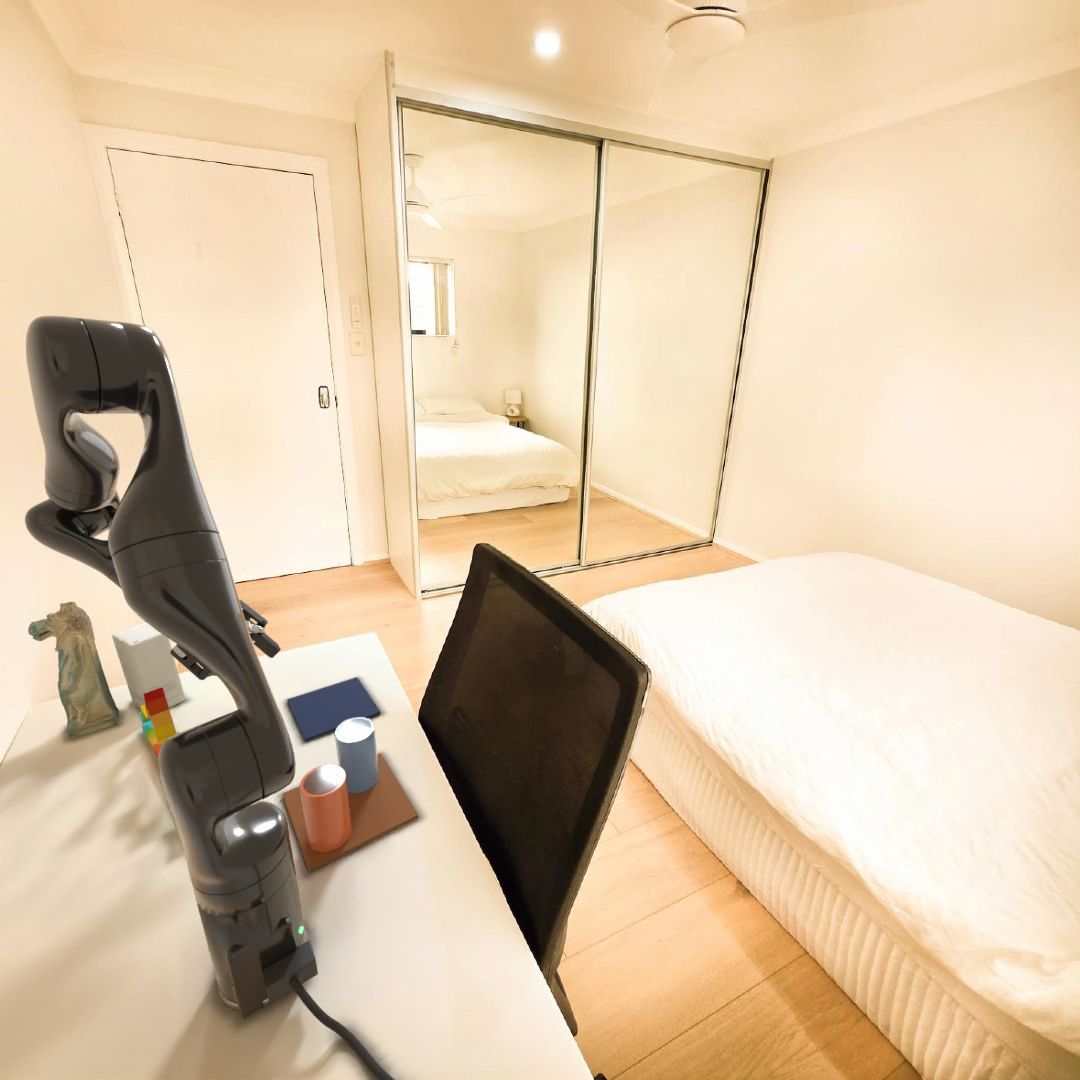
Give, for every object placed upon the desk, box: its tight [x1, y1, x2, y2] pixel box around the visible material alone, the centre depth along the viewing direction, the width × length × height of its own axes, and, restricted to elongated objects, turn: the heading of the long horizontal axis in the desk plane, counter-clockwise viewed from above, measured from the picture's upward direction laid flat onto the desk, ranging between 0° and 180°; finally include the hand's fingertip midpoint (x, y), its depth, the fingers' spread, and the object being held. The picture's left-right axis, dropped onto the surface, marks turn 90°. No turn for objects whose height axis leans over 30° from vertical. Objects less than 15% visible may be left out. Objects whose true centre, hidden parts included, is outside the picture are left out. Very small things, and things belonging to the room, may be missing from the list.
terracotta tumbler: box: [299, 764, 352, 852], centre depth 75 cm, size 6×6×10 cm
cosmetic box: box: [111, 621, 186, 709], centre depth 102 cm, size 8×7×16 cm
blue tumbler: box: [334, 717, 379, 793], centre depth 85 cm, size 6×6×10 cm
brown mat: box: [282, 752, 420, 873], centre depth 82 cm, size 16×16×1 cm
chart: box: [138, 687, 180, 760], centre depth 86 cm, size 30×3×15 cm, turn 47°
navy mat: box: [286, 676, 382, 742], centre depth 105 cm, size 14×14×1 cm
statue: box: [27, 601, 120, 740], centre depth 94 cm, size 7×8×25 cm
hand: (261, 668), depth 80 cm, fingers open, 8 cm apart
